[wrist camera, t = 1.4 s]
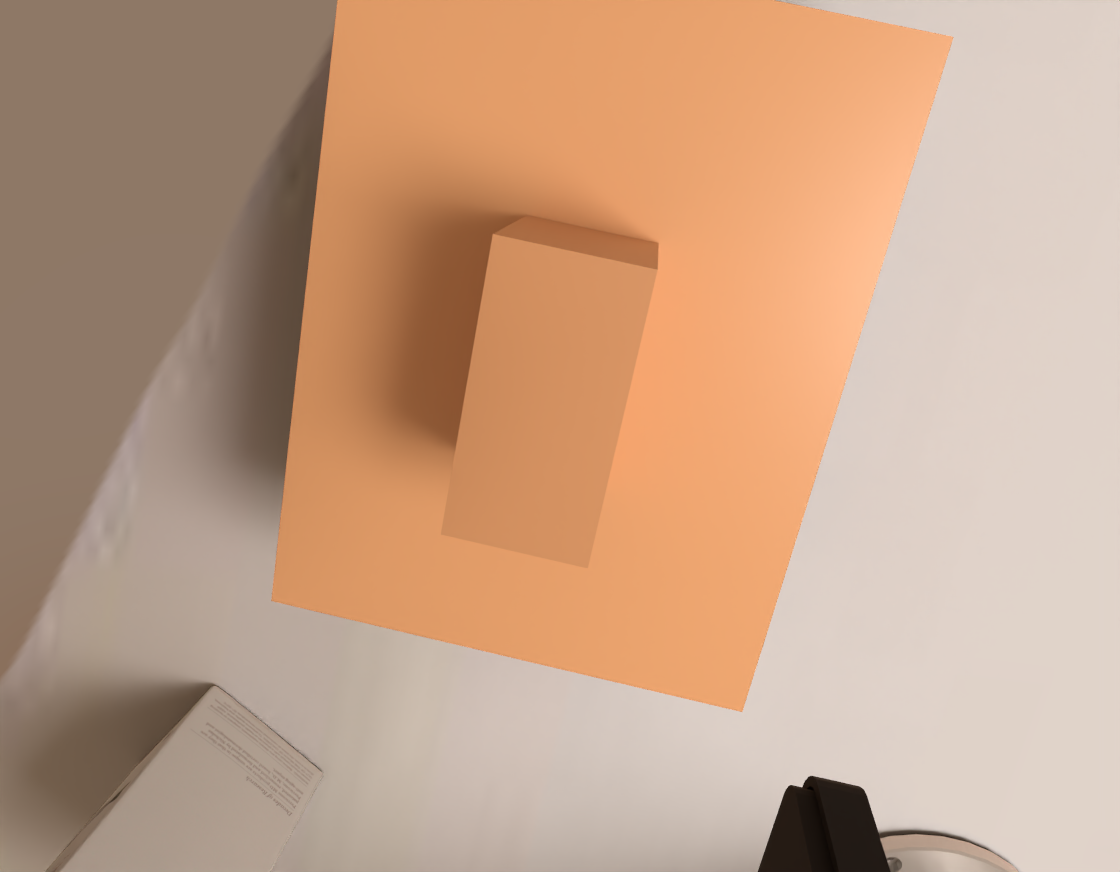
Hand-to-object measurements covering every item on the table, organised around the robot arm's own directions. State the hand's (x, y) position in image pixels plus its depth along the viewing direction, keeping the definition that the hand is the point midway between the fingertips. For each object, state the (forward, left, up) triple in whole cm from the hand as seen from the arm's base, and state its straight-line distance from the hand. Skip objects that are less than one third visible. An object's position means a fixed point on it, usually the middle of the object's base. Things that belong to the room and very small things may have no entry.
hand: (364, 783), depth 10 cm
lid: (0, 0, -22) cm, 22 cm away
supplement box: (+13, +27, -29) cm, 41 cm away
